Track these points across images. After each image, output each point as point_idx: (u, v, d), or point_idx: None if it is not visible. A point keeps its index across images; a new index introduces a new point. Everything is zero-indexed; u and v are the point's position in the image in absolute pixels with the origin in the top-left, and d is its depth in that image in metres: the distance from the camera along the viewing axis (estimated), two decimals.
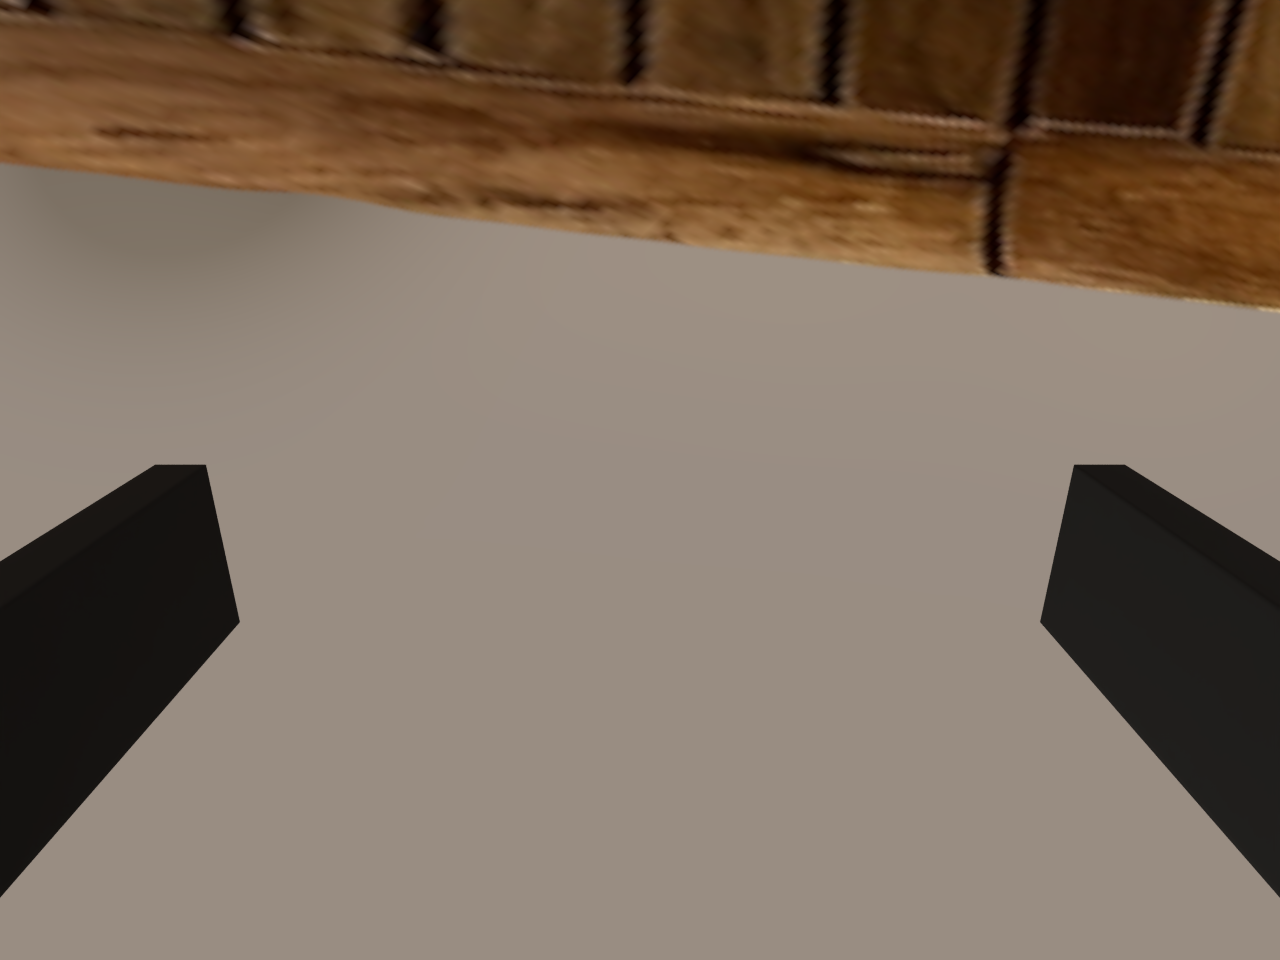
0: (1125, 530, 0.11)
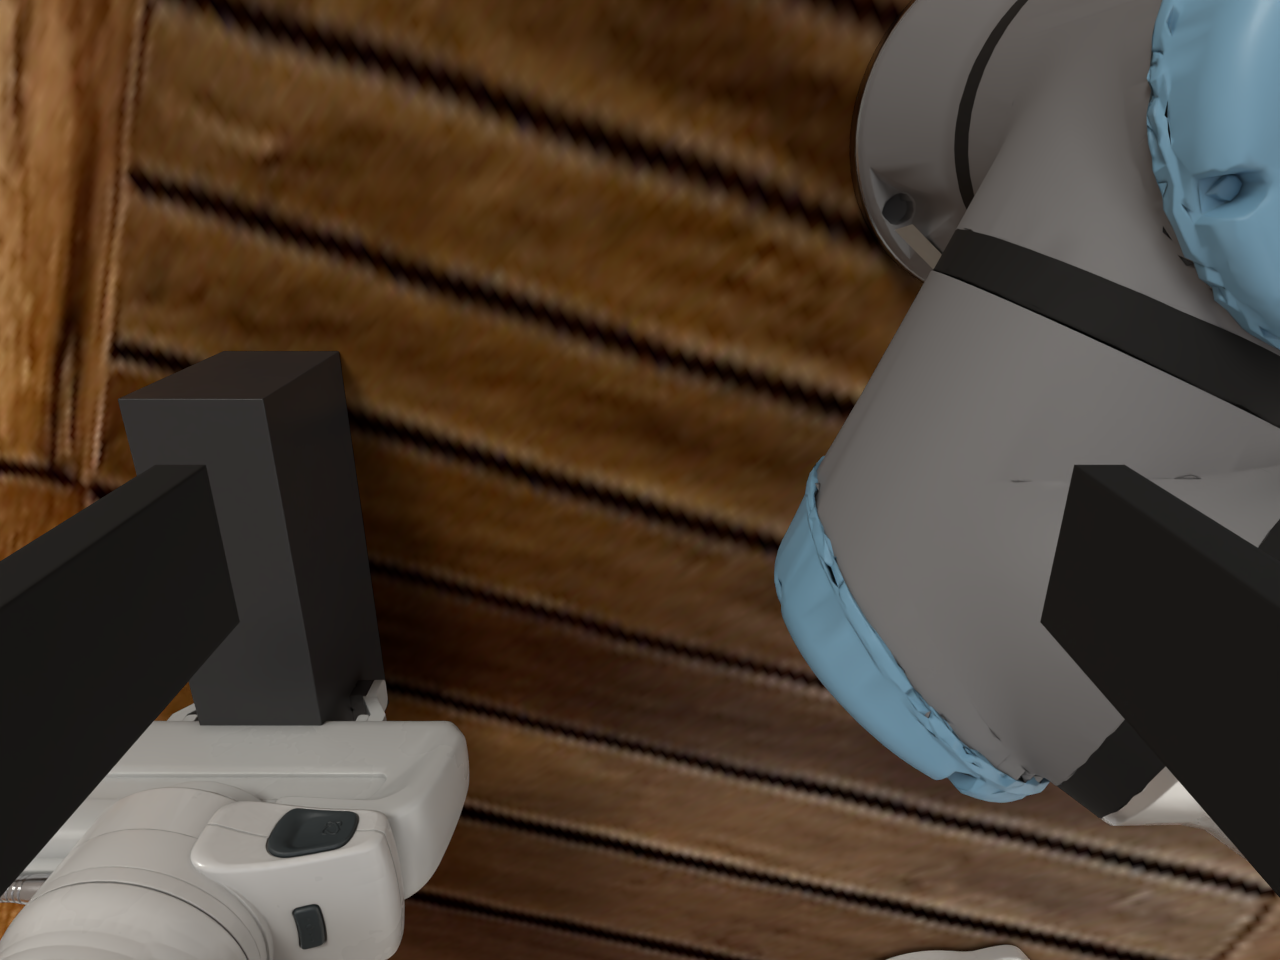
0: (1125, 530, 0.11)
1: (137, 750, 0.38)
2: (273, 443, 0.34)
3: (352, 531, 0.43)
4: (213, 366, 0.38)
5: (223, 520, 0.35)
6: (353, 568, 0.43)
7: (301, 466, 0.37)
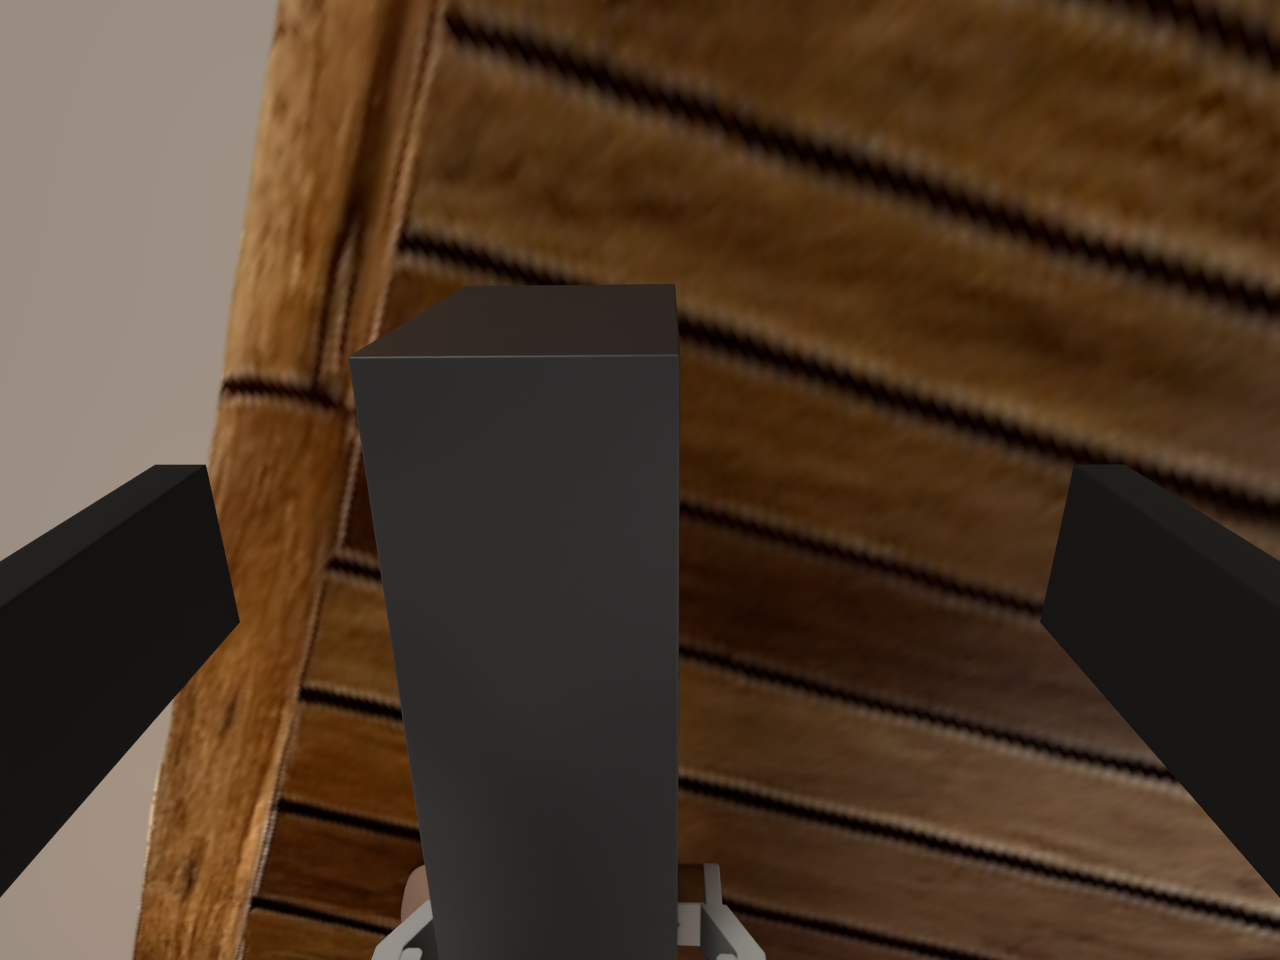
0: (1125, 530, 0.11)
1: None
2: (679, 456, 0.15)
3: None
4: (479, 304, 0.20)
5: (548, 622, 0.16)
6: None
7: None
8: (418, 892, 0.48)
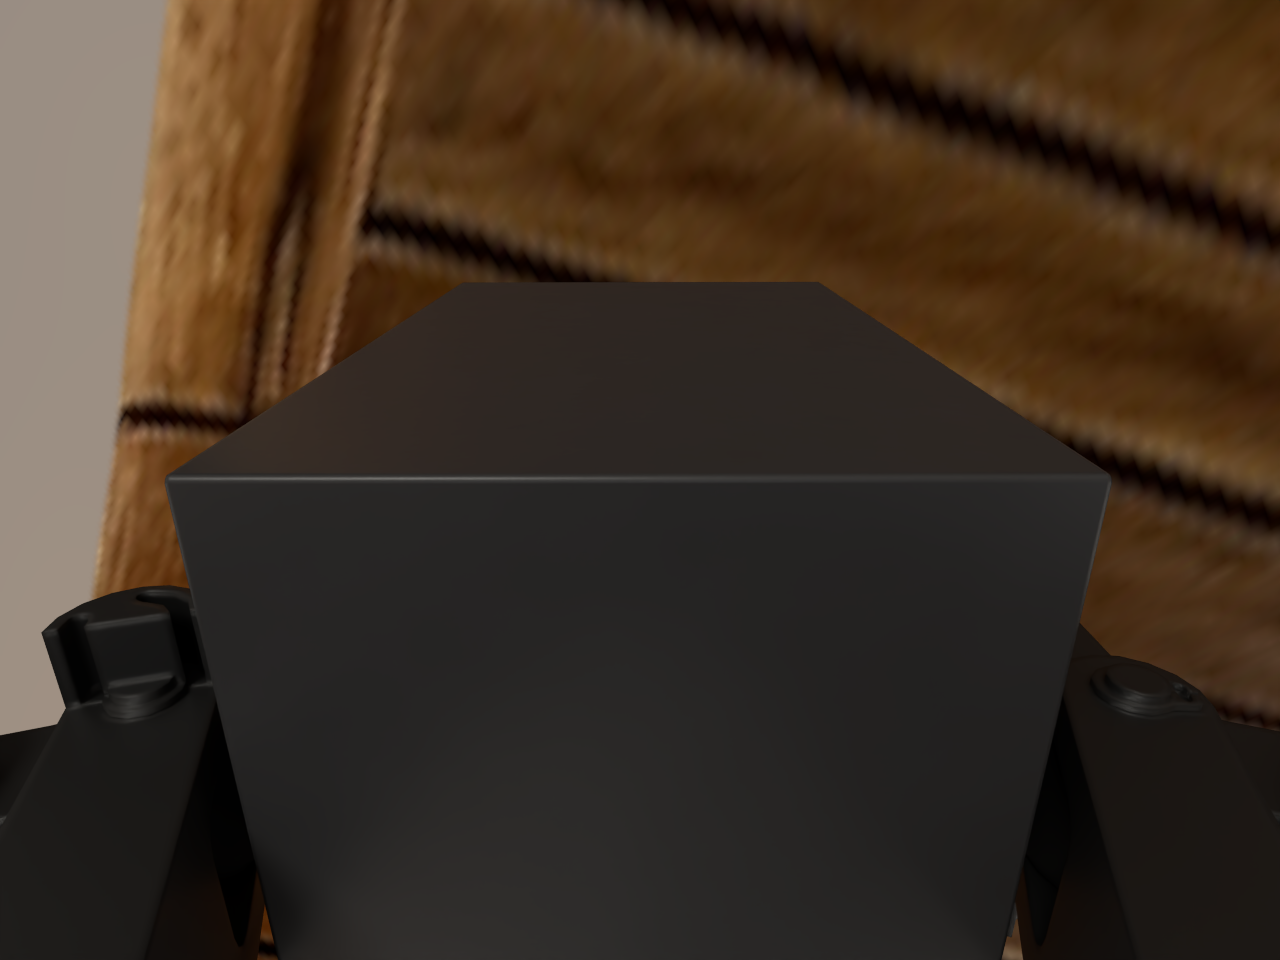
0: None
1: None
2: (1044, 719, 0.06)
3: None
4: (498, 317, 0.10)
5: None
6: None
7: None
8: None
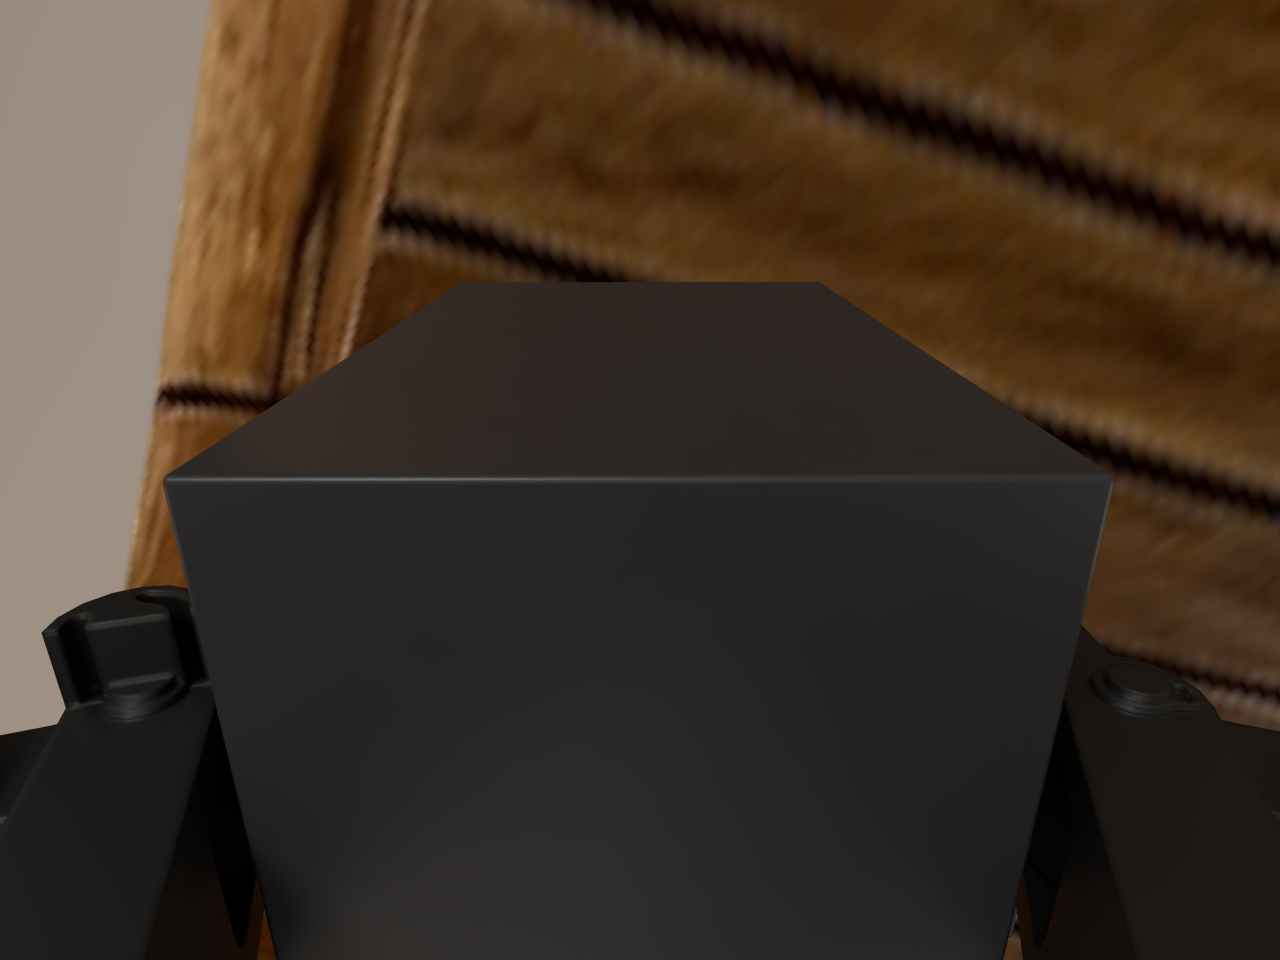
0: None
1: None
2: (1046, 721, 0.06)
3: None
4: (498, 317, 0.10)
5: None
6: None
7: None
8: None
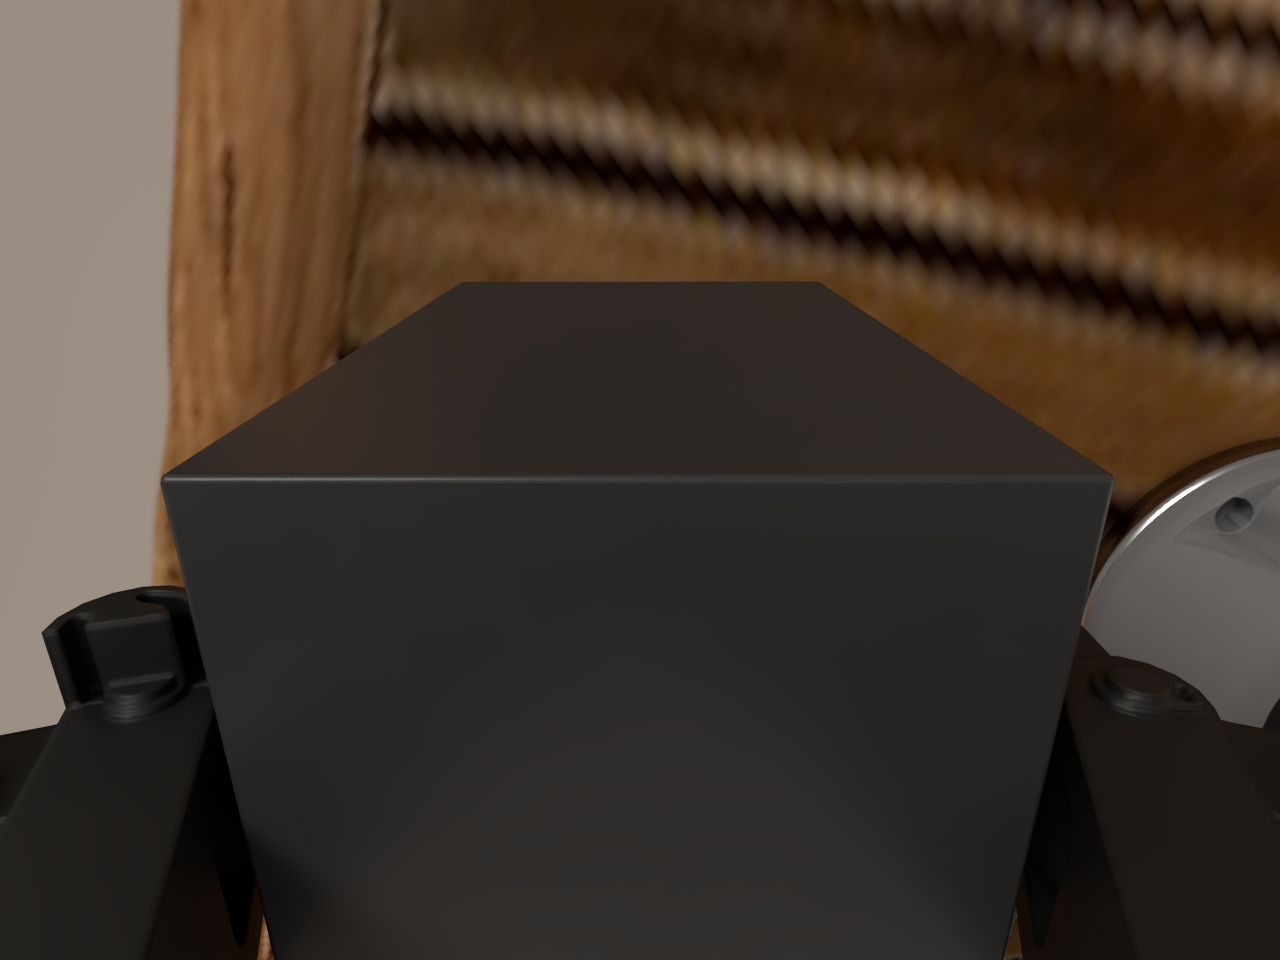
0: None
1: None
2: (1045, 722, 0.06)
3: None
4: (497, 317, 0.10)
5: None
6: None
7: None
8: None
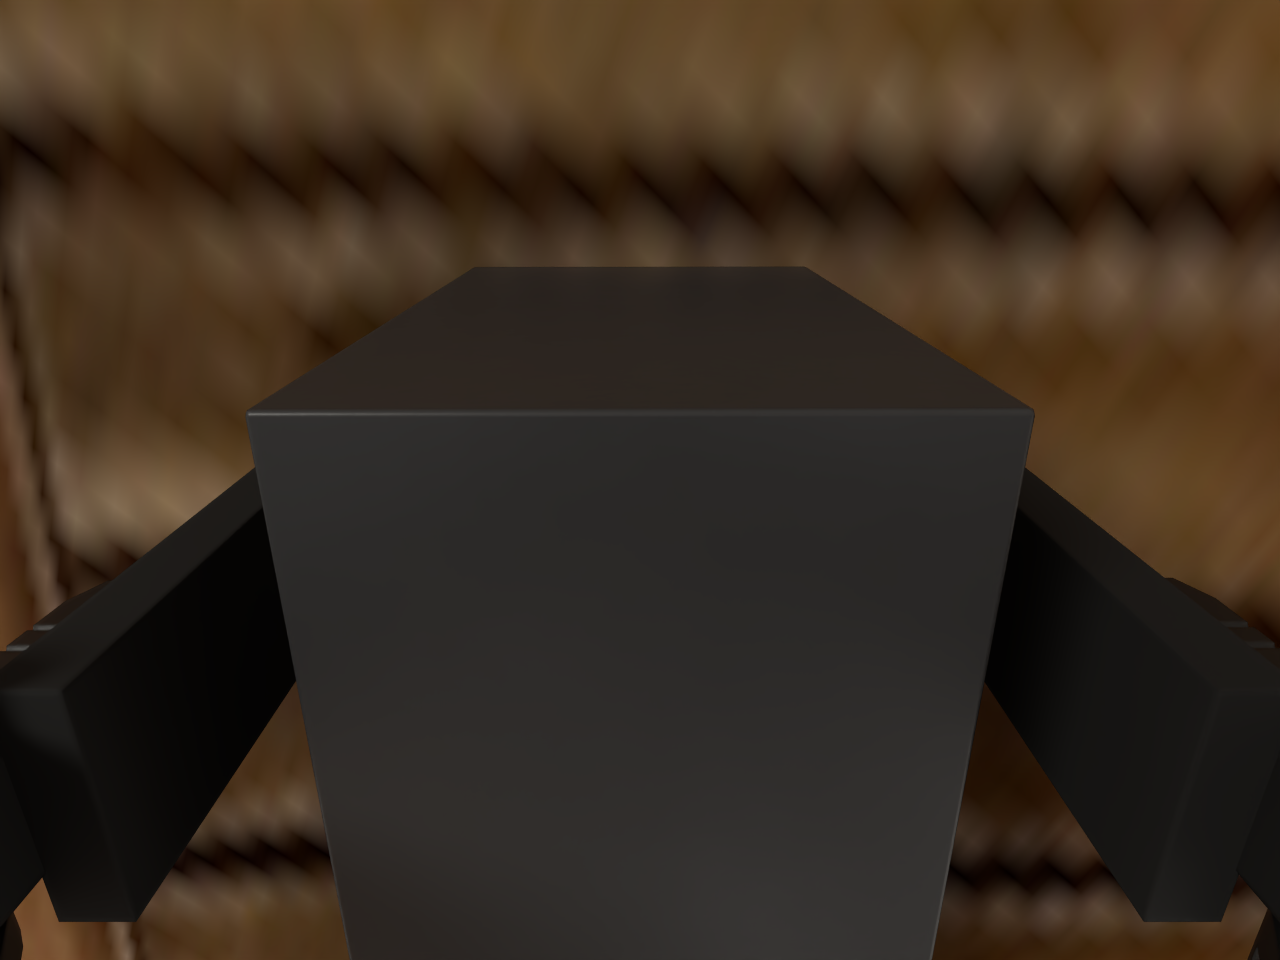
0: None
1: None
2: (986, 626, 0.07)
3: None
4: (511, 295, 0.11)
5: (673, 937, 0.08)
6: None
7: None
8: None
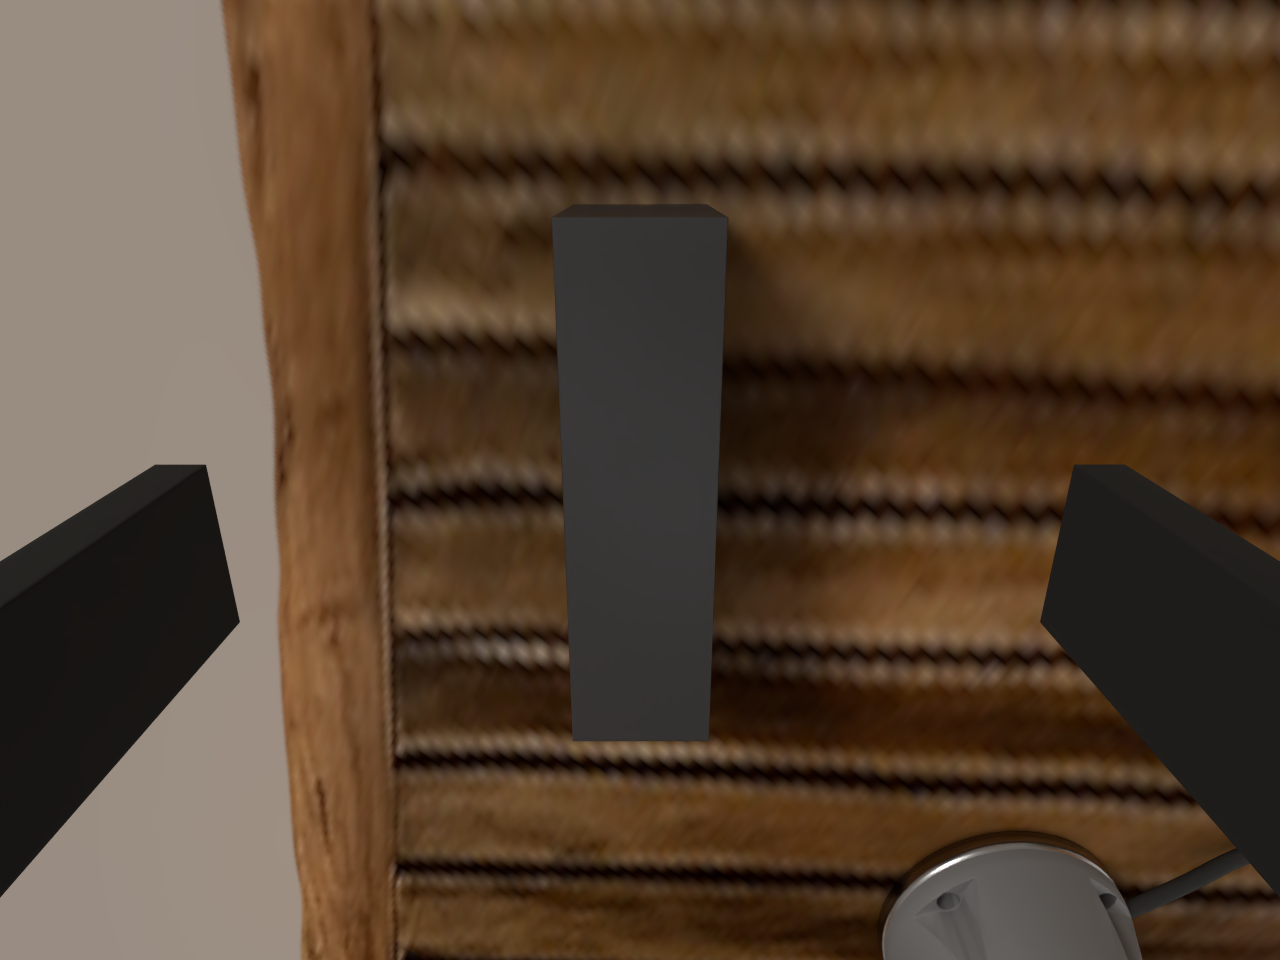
0: (1125, 531, 0.11)
1: None
2: (725, 276, 0.28)
3: None
4: (595, 208, 0.32)
5: (649, 376, 0.29)
6: None
7: None
8: None
